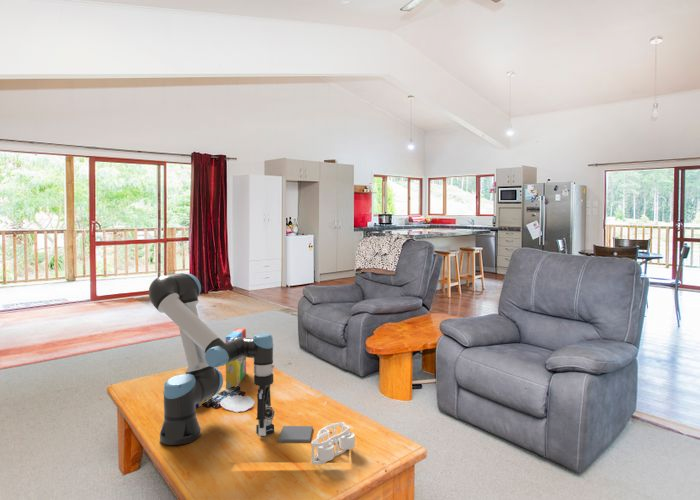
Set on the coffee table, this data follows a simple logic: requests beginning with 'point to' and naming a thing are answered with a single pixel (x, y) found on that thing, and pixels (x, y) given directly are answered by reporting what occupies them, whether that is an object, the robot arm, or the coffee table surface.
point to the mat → (295, 434)
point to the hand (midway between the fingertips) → (264, 430)
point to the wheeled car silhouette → (327, 447)
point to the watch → (268, 420)
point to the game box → (235, 363)
